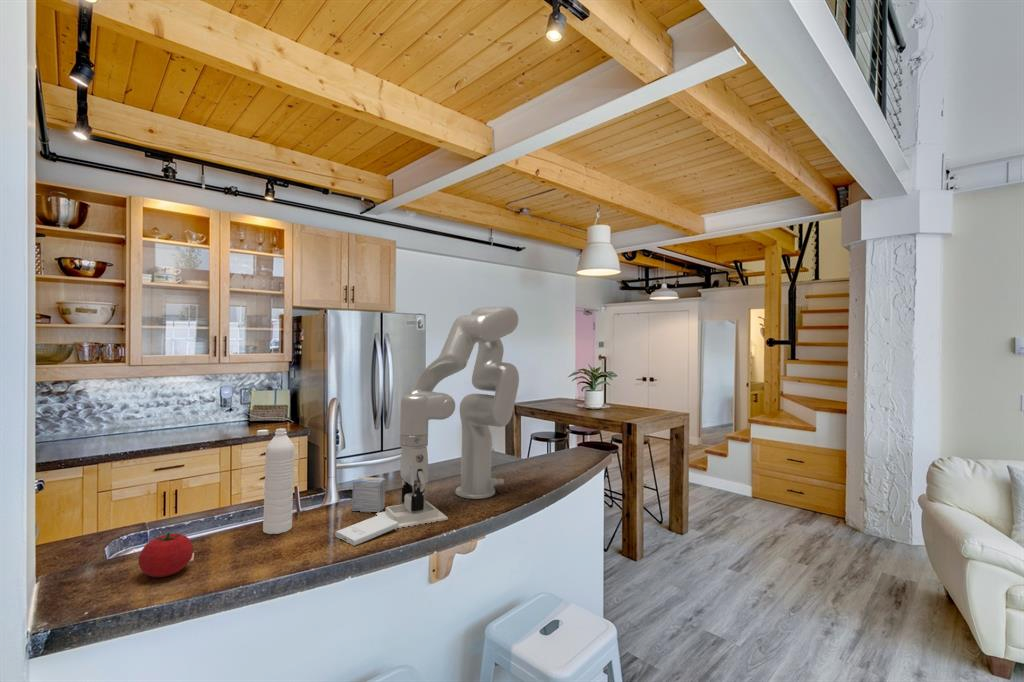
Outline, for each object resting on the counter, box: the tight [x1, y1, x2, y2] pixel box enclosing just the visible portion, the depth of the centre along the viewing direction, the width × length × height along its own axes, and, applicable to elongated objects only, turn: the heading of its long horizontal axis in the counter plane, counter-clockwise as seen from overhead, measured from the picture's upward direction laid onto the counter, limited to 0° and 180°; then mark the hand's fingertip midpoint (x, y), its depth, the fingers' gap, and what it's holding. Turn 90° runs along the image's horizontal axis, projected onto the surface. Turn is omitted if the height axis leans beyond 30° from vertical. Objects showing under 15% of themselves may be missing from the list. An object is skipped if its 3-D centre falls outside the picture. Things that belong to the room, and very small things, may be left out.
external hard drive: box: [334, 515, 398, 547], centre depth 114 cm, size 2×8×12 cm
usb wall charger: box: [404, 493, 426, 513], centre depth 126 cm, size 4×7×4 cm, turn 35°
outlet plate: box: [375, 500, 449, 530], centre depth 126 cm, size 16×12×2 cm
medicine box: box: [351, 476, 386, 513], centre depth 131 cm, size 8×4×9 cm, turn 84°
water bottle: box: [256, 427, 296, 535], centre depth 115 cm, size 9×6×25 cm
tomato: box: [137, 532, 194, 578], centre depth 93 cm, size 9×9×8 cm
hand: (412, 505), depth 126 cm, fingers closed on usb wall charger, 7 cm apart
